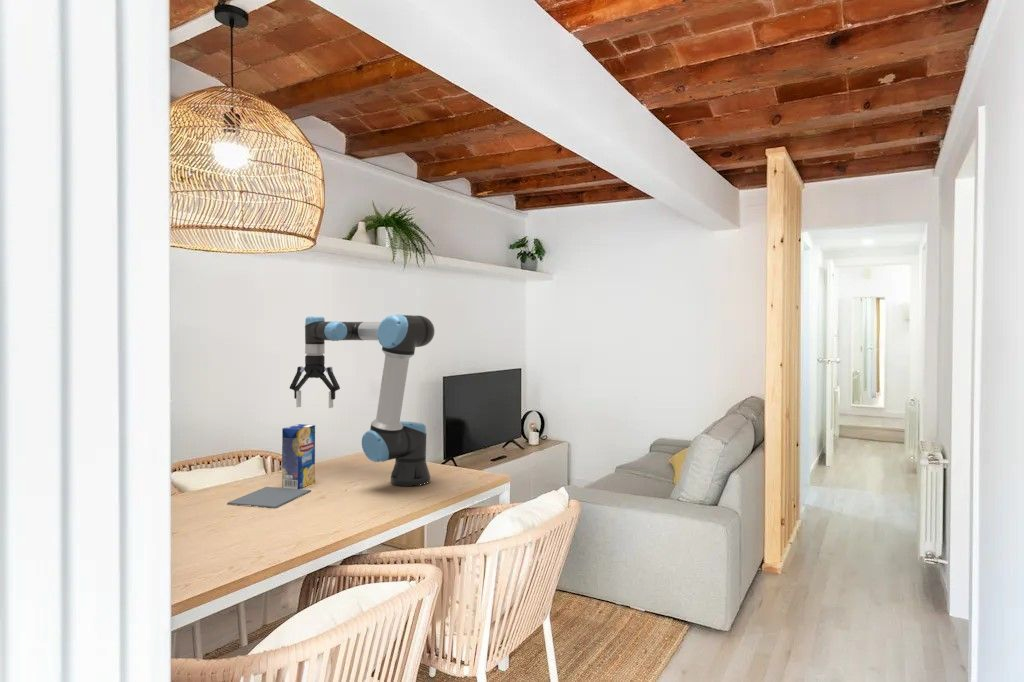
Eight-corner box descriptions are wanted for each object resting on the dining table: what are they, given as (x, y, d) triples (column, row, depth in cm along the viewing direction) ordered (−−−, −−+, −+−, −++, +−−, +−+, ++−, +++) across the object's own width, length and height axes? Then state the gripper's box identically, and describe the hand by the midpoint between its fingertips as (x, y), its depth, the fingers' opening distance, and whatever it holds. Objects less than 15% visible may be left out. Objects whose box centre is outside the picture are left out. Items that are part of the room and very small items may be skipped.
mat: (310, 491, 231) (310, 489, 231) (275, 508, 210) (275, 506, 210) (266, 488, 235) (266, 486, 235) (227, 504, 214) (227, 502, 214)
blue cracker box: (315, 482, 245) (315, 425, 244) (298, 489, 234) (298, 429, 233) (299, 481, 246) (299, 424, 246) (282, 488, 236) (282, 428, 235)
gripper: (348, 354, 261) (347, 406, 262) (289, 354, 264) (289, 405, 265) (341, 355, 254) (340, 409, 254) (281, 354, 257) (281, 407, 257)
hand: (314, 407), depth 260 cm, fingers open, 13 cm apart
